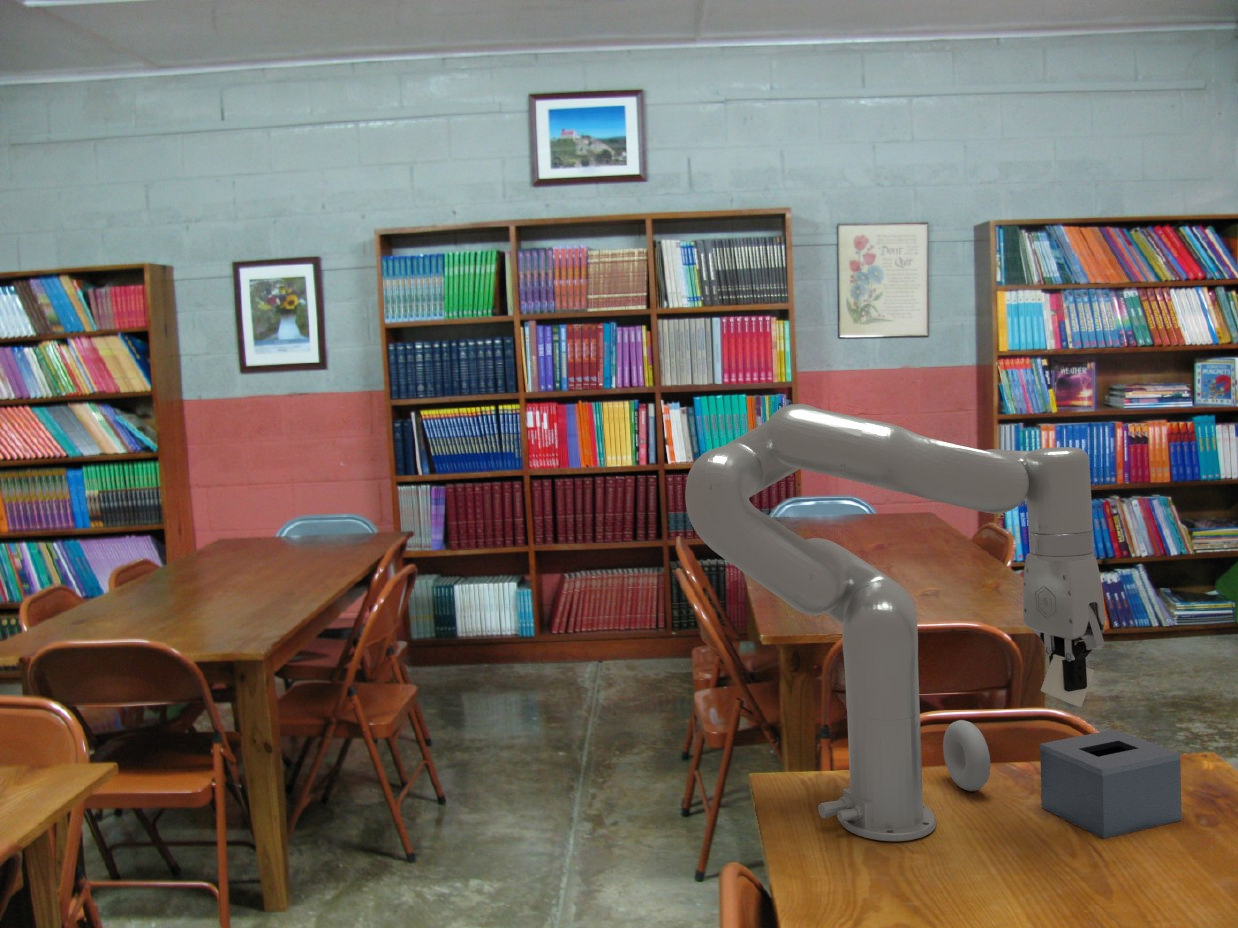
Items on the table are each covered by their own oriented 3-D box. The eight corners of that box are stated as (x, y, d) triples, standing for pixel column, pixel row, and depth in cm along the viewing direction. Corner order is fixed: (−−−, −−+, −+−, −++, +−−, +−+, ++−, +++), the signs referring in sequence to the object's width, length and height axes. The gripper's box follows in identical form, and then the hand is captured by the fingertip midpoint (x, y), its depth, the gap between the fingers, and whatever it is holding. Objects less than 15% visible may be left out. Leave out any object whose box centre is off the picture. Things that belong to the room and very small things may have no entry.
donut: (996, 800, 143) (994, 731, 142) (973, 803, 142) (971, 733, 142) (960, 775, 153) (958, 710, 152) (939, 778, 152) (937, 712, 152)
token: (1051, 694, 128) (1064, 657, 128) (1040, 690, 129) (1053, 654, 130) (1081, 707, 129) (1094, 670, 129) (1070, 703, 131) (1083, 667, 131)
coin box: (1104, 838, 129) (1102, 769, 129) (1041, 807, 140) (1039, 743, 139) (1181, 820, 133) (1180, 753, 133) (1115, 791, 144) (1114, 729, 143)
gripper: (996, 541, 135) (1004, 677, 136) (1081, 555, 120) (1089, 707, 121) (1043, 535, 137) (1050, 669, 138) (1132, 548, 122) (1140, 698, 123)
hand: (1068, 686), depth 130 cm, fingers closed on token, 1 cm apart
